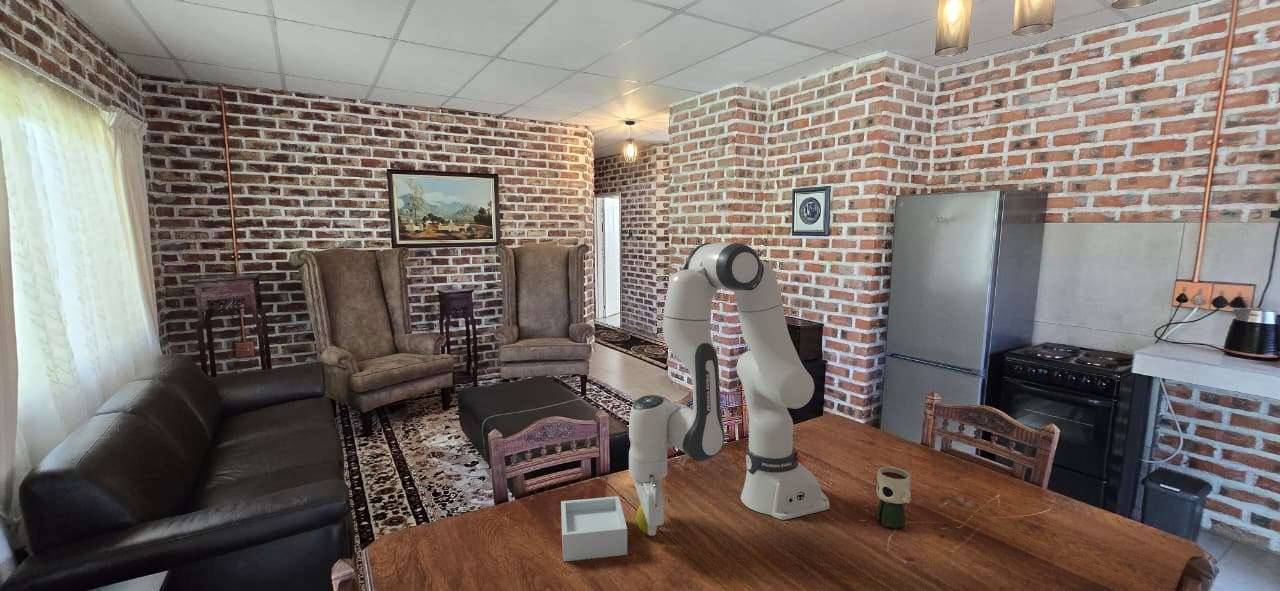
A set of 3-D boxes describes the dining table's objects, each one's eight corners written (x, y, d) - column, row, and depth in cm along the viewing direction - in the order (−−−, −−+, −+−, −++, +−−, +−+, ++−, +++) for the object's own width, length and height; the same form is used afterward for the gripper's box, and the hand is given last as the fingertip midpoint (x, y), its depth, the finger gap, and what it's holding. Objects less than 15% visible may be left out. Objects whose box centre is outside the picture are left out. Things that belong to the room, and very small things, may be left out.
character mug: (863, 513, 132) (866, 464, 130) (887, 509, 133) (890, 461, 131) (893, 538, 121) (897, 485, 119) (919, 534, 123) (923, 481, 121)
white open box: (618, 520, 129) (618, 496, 128) (627, 556, 115) (627, 528, 114) (561, 526, 126) (561, 501, 125) (563, 563, 113) (562, 535, 112)
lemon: (657, 541, 120) (657, 509, 119) (634, 538, 121) (634, 506, 120) (661, 528, 125) (661, 496, 124) (638, 525, 126) (638, 494, 125)
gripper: (671, 487, 111) (670, 547, 113) (652, 447, 131) (652, 498, 133) (642, 489, 110) (642, 550, 112) (628, 448, 130) (628, 501, 132)
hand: (647, 522), depth 123 cm, fingers open, 8 cm apart
